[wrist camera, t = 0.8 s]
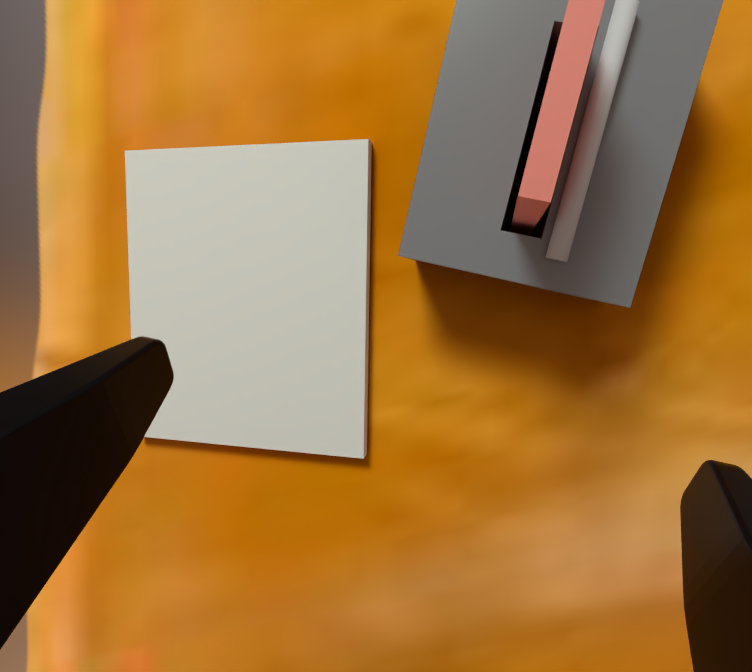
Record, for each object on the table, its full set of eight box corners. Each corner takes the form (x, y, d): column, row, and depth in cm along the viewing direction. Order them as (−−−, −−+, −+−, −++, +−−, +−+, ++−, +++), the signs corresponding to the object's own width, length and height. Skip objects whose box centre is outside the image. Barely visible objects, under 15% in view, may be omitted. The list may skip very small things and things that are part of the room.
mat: (366, 454, 24) (363, 458, 23) (142, 432, 26) (134, 436, 26) (371, 142, 22) (368, 139, 22) (133, 154, 25) (124, 150, 24)
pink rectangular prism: (528, 235, 21) (550, 202, 12) (509, 231, 21) (518, 195, 13) (568, 85, 20) (622, -64, 12) (548, 82, 20) (586, -68, 12)
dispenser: (605, 303, 21) (635, 308, 16) (415, 260, 22) (394, 254, 18) (681, 44, 19) (738, -31, 15) (471, 18, 21) (464, -56, 16)
